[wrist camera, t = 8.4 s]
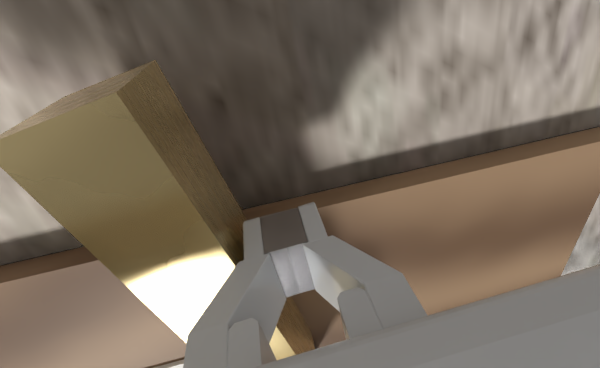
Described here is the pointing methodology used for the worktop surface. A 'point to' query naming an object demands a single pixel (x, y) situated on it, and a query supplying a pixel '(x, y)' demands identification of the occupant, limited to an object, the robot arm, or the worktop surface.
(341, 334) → the latch board
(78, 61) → the worktop surface
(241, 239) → the swing bar
